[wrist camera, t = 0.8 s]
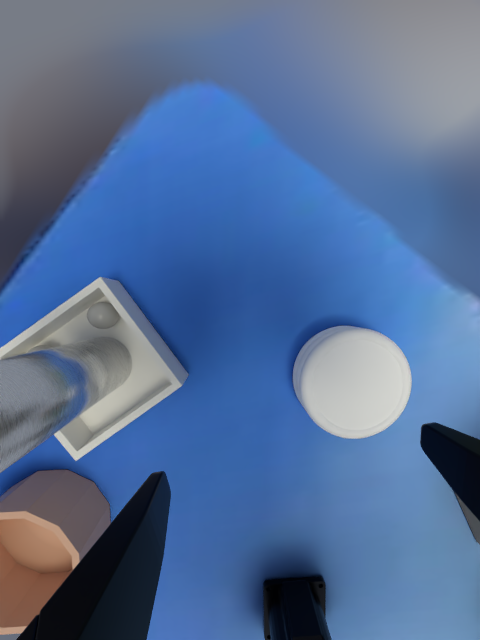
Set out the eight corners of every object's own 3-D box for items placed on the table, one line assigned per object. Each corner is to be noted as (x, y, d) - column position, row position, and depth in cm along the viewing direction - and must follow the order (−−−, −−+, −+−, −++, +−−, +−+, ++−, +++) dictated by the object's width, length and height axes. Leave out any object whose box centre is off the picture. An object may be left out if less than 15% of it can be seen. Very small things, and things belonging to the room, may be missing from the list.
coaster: (352, 305, 22) (375, 305, 19) (405, 383, 23) (436, 397, 20) (271, 363, 22) (279, 374, 19) (326, 439, 23) (343, 463, 20)
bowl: (113, 565, 23) (84, 629, 18) (6, 572, 23) (-49, 638, 18) (107, 467, 22) (75, 508, 18) (-3, 472, 22) (-64, 515, 17)
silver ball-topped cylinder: (133, 389, 21) (-55, 550, 7) (77, 391, 21) (-224, 560, 7) (130, 335, 21) (-73, 396, 7) (73, 337, 21) (-252, 402, 7)
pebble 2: (124, 327, 21) (110, 330, 18) (98, 327, 21) (81, 330, 18) (123, 301, 21) (109, 301, 18) (96, 302, 21) (79, 301, 18)
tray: (188, 374, 22) (182, 385, 19) (96, 439, 22) (75, 461, 19) (118, 280, 21) (100, 276, 18) (23, 348, 21) (-11, 356, 18)
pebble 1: (67, 368, 21) (46, 376, 19) (41, 368, 21) (16, 377, 18) (65, 342, 21) (43, 347, 18) (38, 343, 21) (13, 348, 18)
